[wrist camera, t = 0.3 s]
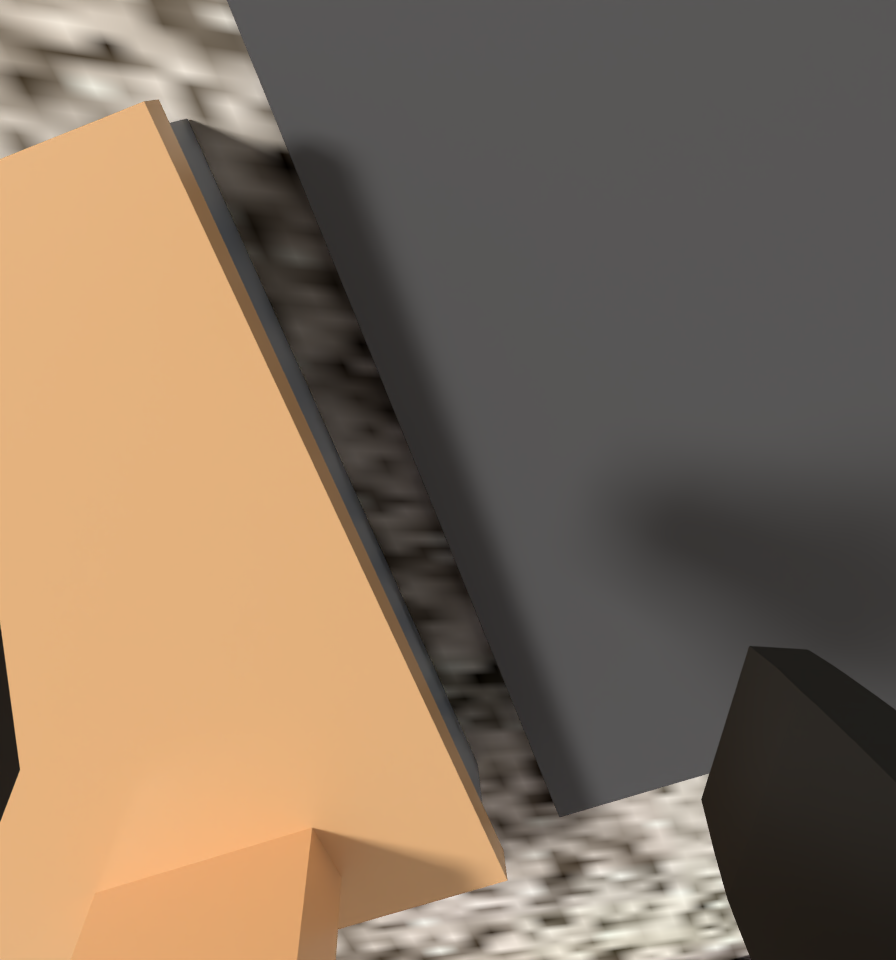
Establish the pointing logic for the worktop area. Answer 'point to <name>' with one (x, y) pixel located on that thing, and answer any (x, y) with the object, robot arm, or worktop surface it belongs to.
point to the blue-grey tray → (319, 431)
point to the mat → (623, 333)
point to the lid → (189, 602)
